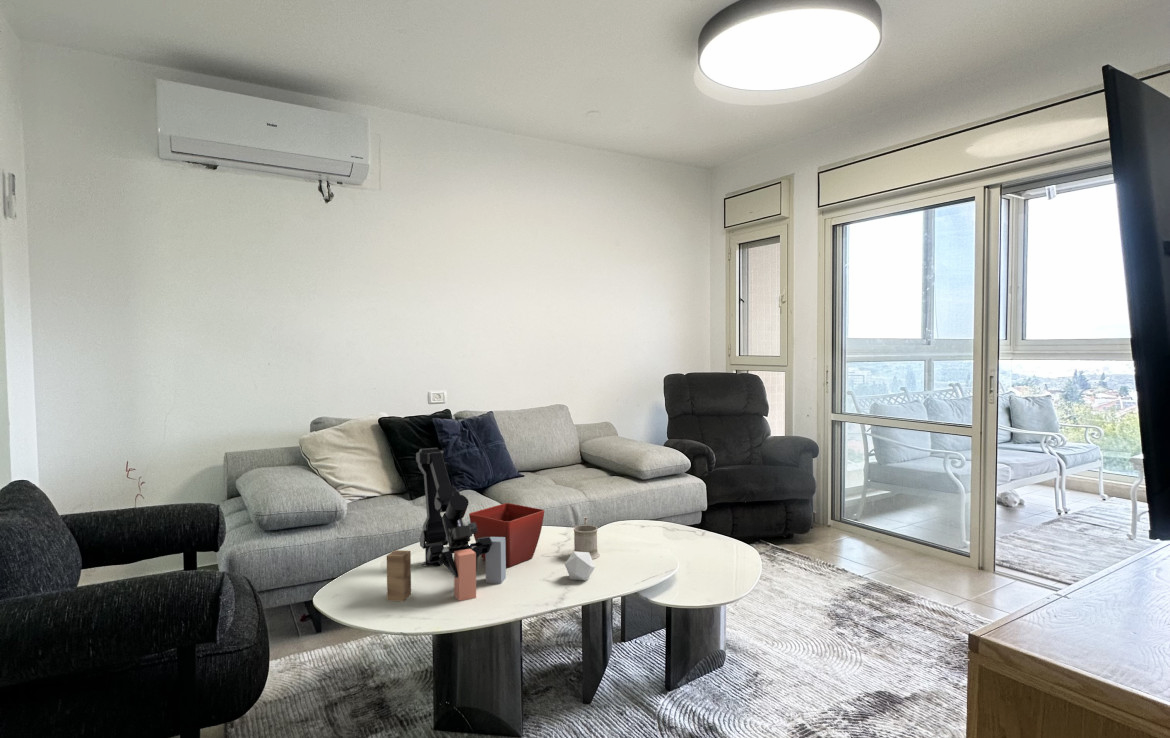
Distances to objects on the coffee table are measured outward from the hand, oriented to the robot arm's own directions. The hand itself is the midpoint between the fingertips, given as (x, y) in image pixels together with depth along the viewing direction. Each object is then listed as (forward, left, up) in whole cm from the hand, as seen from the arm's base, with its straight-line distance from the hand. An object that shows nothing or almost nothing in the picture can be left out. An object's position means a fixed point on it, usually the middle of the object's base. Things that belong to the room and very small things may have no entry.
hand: (466, 575), depth 175 cm
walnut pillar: (+2, -20, -7) cm, 21 cm away
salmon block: (-1, -1, -7) cm, 7 cm away
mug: (-45, +28, -7) cm, 54 cm away
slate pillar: (-15, +4, -7) cm, 17 cm away
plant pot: (-35, +2, -7) cm, 36 cm away
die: (-20, +30, -7) cm, 37 cm away
